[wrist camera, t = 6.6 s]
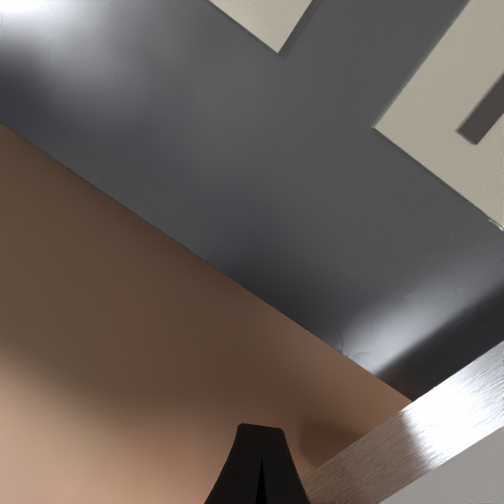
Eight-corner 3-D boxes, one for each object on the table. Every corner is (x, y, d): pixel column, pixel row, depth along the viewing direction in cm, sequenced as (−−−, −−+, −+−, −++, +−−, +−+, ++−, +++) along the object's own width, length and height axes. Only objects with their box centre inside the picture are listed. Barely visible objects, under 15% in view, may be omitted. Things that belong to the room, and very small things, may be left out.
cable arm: (754, 133, 9) (1154, 113, 5) (806, 219, 9) (1212, 266, 5) (163, 549, 13) (116, 717, 9) (217, 593, 13) (195, 773, 9)
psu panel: (492, 442, 13) (521, 478, 11) (-41, 78, 11) (-91, 65, 9) (1044, -57, 9) (1202, -100, 7) (350, -842, 6) (374, -1142, 5)
